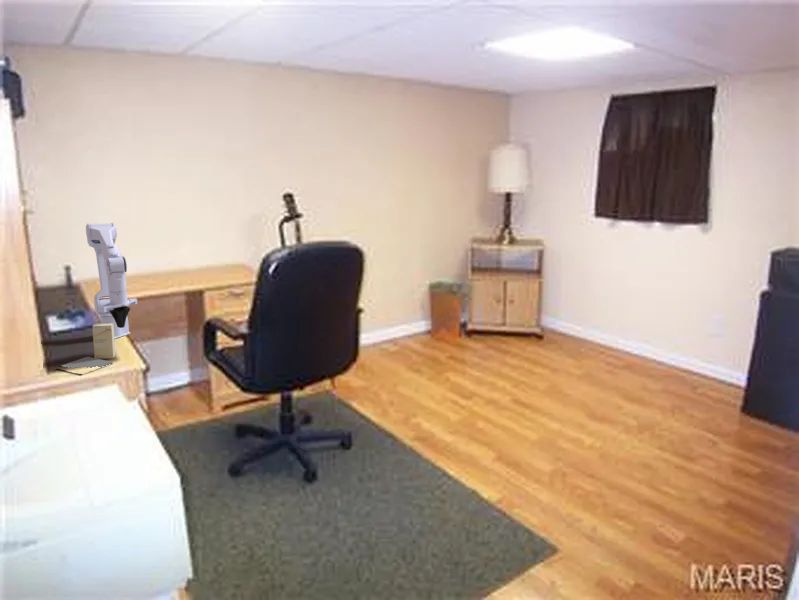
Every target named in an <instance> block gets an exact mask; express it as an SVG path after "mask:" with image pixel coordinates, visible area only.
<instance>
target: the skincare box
mask: <svg viewBox="0 0 799 600" xmlns="http://www.w3.org/2000/svg"><path fill="white" fill-rule="evenodd" d="M92 340H93V341H92V342H93V353H94V354H93V355H94V357H93V358H96V359H101V360H105V359H114V358H115V356H116V339H115V336H114V322H102V323H101V322H94V323H93V324H92Z"/></svg>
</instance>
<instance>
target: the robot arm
mask: <svg viewBox="0 0 799 600" xmlns="http://www.w3.org/2000/svg"><path fill="white" fill-rule="evenodd" d="M85 234H86V240H87V244H88V247H91V248H93V249H94V252H95V257H96V261H97V270H98V278H99V284H100V290H99V291H97V293H95V294H94V296H93V297H94V298H93V299H94V301H93V305H94V311H95V313H96V315H99V316H100V317H99V320H100V323H102V322H114V336H115V340H116V339H118V338H121V337H124V336H125V337H126V336H128V335H131V334H132V332H130V330H129V329H130V326H129V318H128V315H129V313H130V311H131V307H129V306H133V305H138V299H137V298H132V297H131V298H128V289H127V278H126V273H127V271H128V264H127V260H126V257H125V256H123V255H122V253H121V251H120V248H119V247H118V246H117V245H116V244H115V243H116V240H117V237H118V232H117V226H116V224H115V222H109V223H107V222H106V223H87V224H86V225H85Z"/></svg>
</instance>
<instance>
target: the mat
mask: <svg viewBox="0 0 799 600" xmlns="http://www.w3.org/2000/svg"><path fill="white" fill-rule="evenodd" d="M112 363H113V364H114V362H113V361H109V360H105V359H96V358H95V357H92V356H85V357H82V358H80V359H76V360H74V361H71V362H67V363H65V364H61V366H63V367H68V368H70V367H71V368H75V367H78V368H79V367H87V368H88V367H90V368H92V367H96V366H98V367H102V366H106V365H109V364H111V365H113V364H112ZM109 366H110V365H109ZM106 367H107V366H106Z"/></svg>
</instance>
